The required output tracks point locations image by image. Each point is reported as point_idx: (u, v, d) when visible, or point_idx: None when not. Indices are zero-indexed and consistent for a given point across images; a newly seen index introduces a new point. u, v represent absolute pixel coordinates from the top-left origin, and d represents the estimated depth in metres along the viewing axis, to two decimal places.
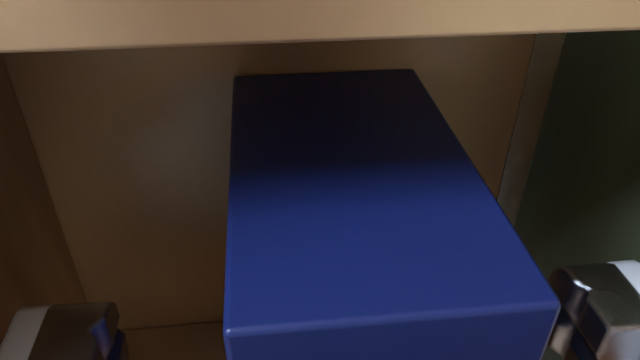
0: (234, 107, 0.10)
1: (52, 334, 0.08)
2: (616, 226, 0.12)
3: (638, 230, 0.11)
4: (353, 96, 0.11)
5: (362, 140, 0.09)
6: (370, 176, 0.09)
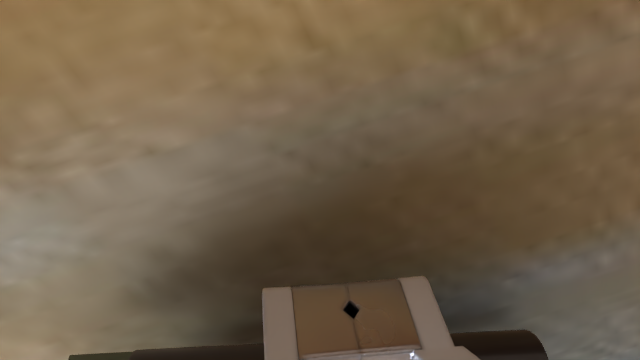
0: None
1: (308, 313, 0.09)
2: None
3: None
4: None
5: None
6: None
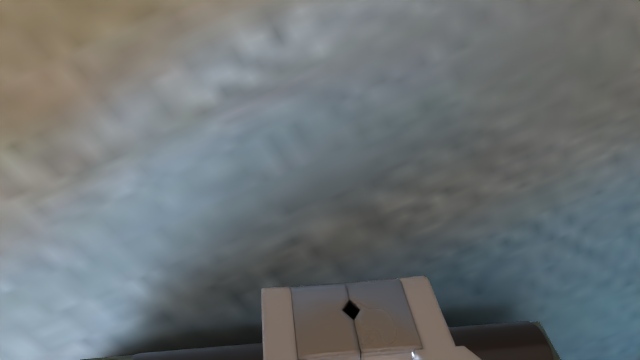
0: None
1: (307, 313, 0.09)
2: None
3: None
4: None
5: None
6: None
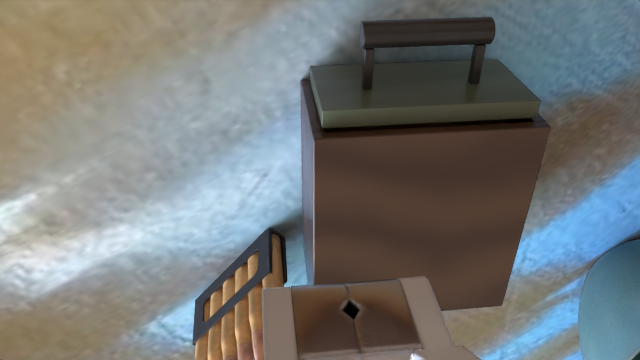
0: None
1: (308, 313, 0.09)
2: None
3: None
4: None
5: None
6: None
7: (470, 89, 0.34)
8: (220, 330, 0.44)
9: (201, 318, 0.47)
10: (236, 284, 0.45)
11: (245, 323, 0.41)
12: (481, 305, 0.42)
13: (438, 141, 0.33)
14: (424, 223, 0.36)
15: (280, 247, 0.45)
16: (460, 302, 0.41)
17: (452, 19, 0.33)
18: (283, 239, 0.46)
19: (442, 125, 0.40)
